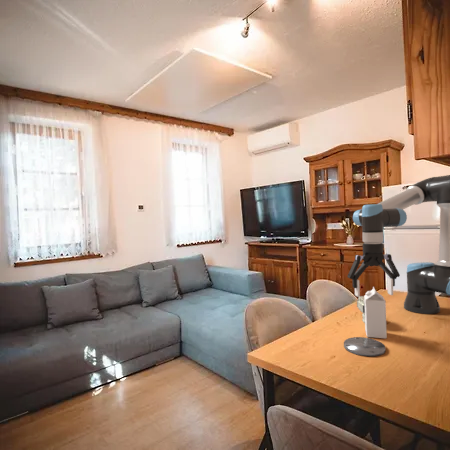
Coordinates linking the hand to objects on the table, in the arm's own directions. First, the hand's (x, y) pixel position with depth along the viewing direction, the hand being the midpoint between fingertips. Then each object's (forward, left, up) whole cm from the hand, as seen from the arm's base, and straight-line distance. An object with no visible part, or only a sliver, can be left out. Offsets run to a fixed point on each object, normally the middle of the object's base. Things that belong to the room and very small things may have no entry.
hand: (373, 295), depth 127 cm
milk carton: (0, 0, -17) cm, 17 cm away
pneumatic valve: (-3, -14, -17) cm, 22 cm away
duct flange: (+10, +11, -16) cm, 22 cm away
